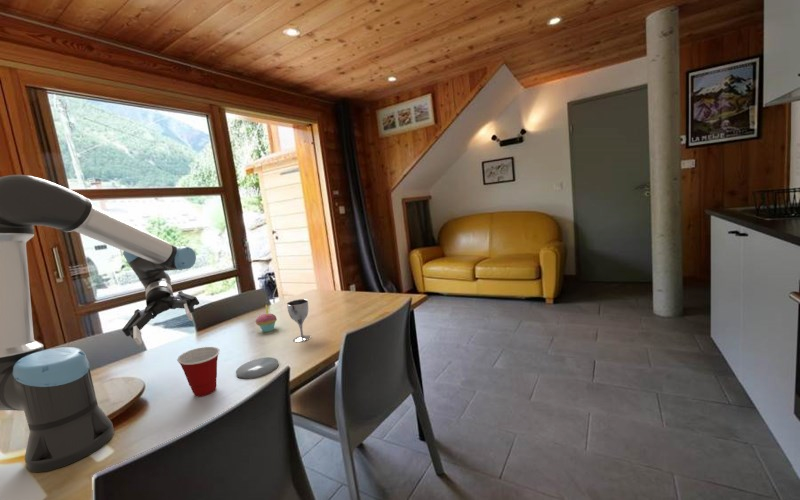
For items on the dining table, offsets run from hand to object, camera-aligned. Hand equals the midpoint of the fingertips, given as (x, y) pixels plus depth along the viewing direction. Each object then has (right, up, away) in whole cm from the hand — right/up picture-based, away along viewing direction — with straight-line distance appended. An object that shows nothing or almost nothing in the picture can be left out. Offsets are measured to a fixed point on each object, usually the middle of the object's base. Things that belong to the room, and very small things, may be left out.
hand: (164, 329), depth 99 cm
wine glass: (+29, -13, +38) cm, 49 cm away
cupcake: (+10, -13, +52) cm, 55 cm away
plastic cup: (+10, -19, +3) cm, 22 cm away
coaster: (+21, -17, +15) cm, 30 cm away
